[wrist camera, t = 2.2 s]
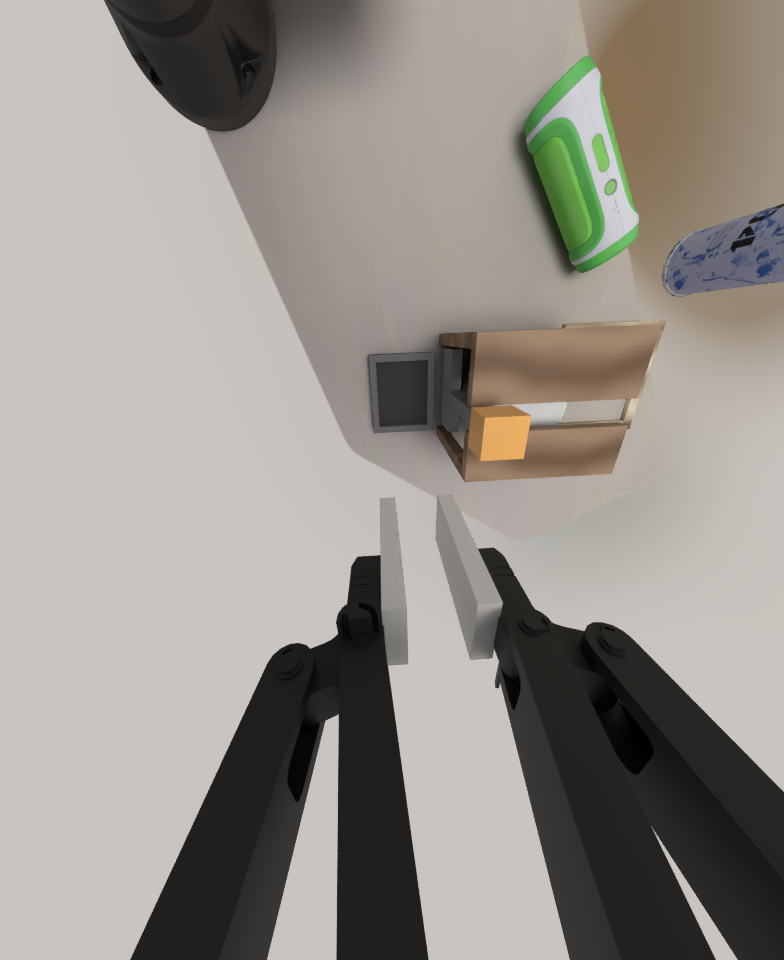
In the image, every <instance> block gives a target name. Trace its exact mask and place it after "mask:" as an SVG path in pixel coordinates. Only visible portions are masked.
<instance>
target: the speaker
mask: <svg viewBox="0 0 784 960" xmlns="http://www.w3.org/2000/svg"><path fill="white" fill-rule="evenodd" d="M524 127H525V136H526V142H527V148H528V151H529V152H530V153H531V154H532V155H533V156H534V163H535V165H536V168H537V171H538V173H539V176H540V178H541V181H542V184H543V186H544V189H545V192H546V194H547V197H548V200H549V202H550V205H551V208H552V210H553V213H554V216H555V218H556V221H557V224H558V226H559V229H560V232H561V234H562V237H563V240H564V243H565V245H566V248H567V250H568V251H569V260H570V261H571V263H572V264H573V266H574V267H575V268H576V269H577V270H578V272H580V273H583V272H587V271H589V270H591V269H593V268H595V267H597V266H599V265H601V264H603V263H604V262H606V261H608V260H609V259H611V258H612V257H614V256H615V255H617V254H618V253H620V252H621V251H623V250H624V249H625V248H627V247H628V246H629V245H630V244H631V243H632V242H633V241H634V240H635V239H636V237H637V236H638V226H639V221H638V220H639V218H638V211H637V210H636V209H635V208H634V206H633V199H632V195H631V192H630V188H629V184H628V181H627V177H626V173H625V170H624V166H623V163H622V159H621V155H620V152H619V148H618V145H617V141H616V137H615V133H614V130H613V126H612V123H611V119H610V115H609V112H608V108H607V104H606V101H605V97H604V94H603V93H602V77H601V75H600V72H599V71H598V68H597V67H596V65H595V64H594V62H593V61H592V59H591V58H590V57H589V56H585V57H584V58H582V59H581V60H580V61H579V62H577V63H576V64H575V65H574V66H573V67H572V68H571V69H570V70H569V71H568V72H567V73H566V74H565V75H564V76H563V77H562V78H561V79H560V80H559V81H558V82H557V83H556V84H555V85H554V86H553V87H552V88H551V90H550V91H549V92H548V93H547V94H546V95H545V96H544V97H543V99H542V100H541V101H540V102H539V103H538V105H537V106H536V107H535V108H534V110H533V111H532V112H531V113H530V115H529V116H528V118H527V119H526V121H525V124H524Z"/></svg>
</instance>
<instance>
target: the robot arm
mask: <svg viewBox="0 0 784 960" xmlns="http://www.w3.org/2000/svg"><path fill="white" fill-rule="evenodd" d="M104 1H105V3H106V5H107V7H108V9H109V11H110V13H111V15H112V17H113V19H114V21H115V24H116V25H117V28H118V30H119V31H120V34H121V36H122V38H123V40H124V42H125V44H126V46H127V48H128V50H129V51H130V53H131V55H132V57H133V58H134V60H135V61H136V63H137V64H138V66H139V67H140V69H141V70H142V72H143V73H144V75H145V76H146V77H147V79H148V80H149V81H150V82H151V83H152V85H153V86H154V87H155V88H156V89H157V90H158V91H159V93H160V94H161V95H162V96H163V97H164V98H165V99H166V100H167V101H168V102H169V104H170V105H171V106H172V107H173V108H175V109H176V110H177V111H178V112H179V113H181V114H182V115H183V116H184V117H186V118H187V119H189V120H191V121H192V122H194V123H196V124H198V125H200V126H202V127H205V128H208V129H213V130H231V129H235V128H238V127H240V126H242V125H244V124H246V123H247V122H249V121H250V120H251V119H252V118H253V117H254V116H255V115H256V114H257V113H258V112H259V110H260V109H261V107H262V106H263V104H264V102H265V100H266V98H267V96H268V94H269V91H270V88H271V85H272V81H273V77H274V71H275V64H276V32H275V24H274V17H273V12H272V7H271V3H270V0H104ZM380 541H381V542H380V543H381V555H379V556H362V557H357V558H356V560H355V561H354V563H353V565H352V567H351V575H350V584H349V586H350V587H349V593H348V601H347V605H345V606H344V607H343V608H342V609H341V611H340V612H339V613H338V616H337V621H336V624H337V629H338V635H337V636H336V637H334V638H333V639H332V640H330V641H328V642H326V643H324V644H321V645H319V646H316V647H314V648H311V649H310V648H309V647H308V646H306V645H304V644H300V643H295V644H289V645H287V646H285V647H283V648H281V649H280V650H279V651H277V652H276V653H275V654H274V655H273V656H272V657H271V659H270V660H269V662H268V664H267V665H266V668H265V670H264V672H263V674H262V677H261V678H260V681H259V683H258V685H257V687H256V689H255V691H254V693H253V696H252V698H251V700H250V702H249V705H248V706H247V709H246V711H245V713H244V715H243V717H242V720H241V722H240V724H239V726H238V728H237V730H236V732H235V735H234V737H233V739H232V741H231V743H230V745H229V747H228V750H227V752H226V754H225V756H224V758H223V760H222V763H221V765H220V767H219V769H218V771H217V773H216V776H215V778H214V780H213V782H212V784H211V786H210V789H209V791H208V793H207V795H206V797H205V799H204V801H203V804H202V806H201V808H200V810H199V812H198V815H197V817H196V819H195V821H194V823H193V825H192V827H191V830H190V832H189V834H188V836H187V838H186V840H185V843H184V845H183V847H182V849H181V851H180V854H179V856H178V858H177V860H176V862H175V864H174V866H173V868H172V871H171V873H170V875H169V877H168V879H167V881H166V884H165V886H164V888H163V890H162V892H161V894H160V897H159V899H158V901H157V903H156V905H155V908H154V910H153V912H152V914H151V916H150V918H149V920H148V922H147V925H146V927H145V929H144V931H143V933H142V936H141V938H140V940H139V942H138V944H137V946H136V949H135V951H134V953H133V955H132V957H131V959H130V960H267V957H268V953H269V949H270V944H271V941H272V937H273V932H274V928H275V924H276V920H277V916H278V912H279V908H280V904H281V900H282V896H283V892H284V888H285V883H286V879H287V875H288V871H289V867H290V863H291V859H292V855H293V851H294V847H295V843H296V838H297V834H298V830H299V826H300V822H301V818H302V814H303V810H304V806H305V802H306V797H307V793H308V789H309V785H310V781H311V777H312V773H313V769H314V765H315V761H316V757H317V752H318V748H319V744H320V740H321V736H322V732H323V728H324V724H325V721H326V720H328V719H330V718H332V717H334V716H336V715H338V714H339V756H338V758H339V761H338V764H339V765H338V861H337V864H338V866H337V869H338V870H337V873H338V874H337V960H428V953H427V945H426V939H425V932H424V924H423V916H422V909H421V902H420V895H419V888H418V881H417V873H416V866H415V859H414V852H413V845H412V838H411V830H410V822H409V815H408V808H407V801H406V793H405V786H404V779H403V772H402V765H401V758H400V751H399V743H398V736H397V729H396V721H395V714H394V707H393V700H392V692H391V686H390V678H389V671H388V665H402V664H408V642H407V606H406V597H405V587H404V578H403V568H402V559H401V550H400V540H399V531H398V522H397V512H396V503H395V498H380ZM436 542H437V545H438V549H439V552H440V556H441V559H442V563H443V566H444V569H445V573H446V577H447V580H448V584H449V587H450V591H451V594H452V598H453V601H454V604H455V608H456V611H457V615H458V619H459V622H460V626H461V629H462V633H463V636H464V640H465V643H466V647H467V650H468V653H469V657H470V659H471V660H474V659H489V658H492V656H493V651H494V649H495V652H496V654H497V657H498V660H499V664H498V669H497V674H496V679H495V687H496V688H499V685H500V683H501V687H502V691H503V695H504V699H505V703H506V707H507V711H508V715H509V719H510V723H511V727H512V731H513V735H514V739H515V743H516V747H517V751H518V755H519V759H520V763H521V767H522V770H523V775H524V778H525V782H526V787H527V791H528V795H529V799H530V802H531V806H532V811H533V814H534V818H535V822H536V826H537V830H538V834H539V838H540V842H541V846H542V850H543V854H544V858H545V862H546V866H547V870H548V874H549V878H550V882H551V886H552V890H553V894H554V898H555V902H556V906H557V910H558V914H559V918H560V922H561V926H562V930H563V934H564V938H565V942H566V946H567V950H568V954H569V958H570V960H716V959H715V957H714V955H713V953H712V951H711V949H710V947H709V945H708V943H707V941H706V939H705V937H704V934H703V933H702V931H701V928H700V926H699V924H698V922H697V920H696V918H695V916H694V914H693V912H692V910H691V908H690V906H689V904H688V902H687V899H686V897H685V895H684V893H683V891H682V889H681V887H680V885H679V883H678V881H677V879H676V877H675V875H674V872H673V870H672V868H671V866H670V864H669V862H668V860H667V858H666V856H665V854H664V852H663V850H662V848H661V846H660V844H659V842H658V840H657V838H656V835H655V833H654V831H655V832H656V834H657V835H658V837H659V839H660V840H661V841H662V843H663V845H664V846H665V848H666V849H667V851H668V852H669V854H670V856H671V857H672V859H673V860H674V862H675V863H676V865H677V866H678V868H679V869H680V871H681V872H682V874H683V876H684V877H685V879H686V880H687V882H688V883H689V885H690V886H691V888H692V890H693V891H694V893H695V894H696V896H697V897H698V899H699V900H700V902H701V903H702V905H703V906H704V908H705V910H706V911H707V913H708V914H709V916H710V917H711V919H712V920H713V922H714V923H715V925H716V927H717V928H718V930H719V931H720V932H721V934H722V936H723V937H724V939H725V940H726V942H727V944H728V945H729V947H730V948H731V950H732V951H733V953H734V954H735V956H736V957H737V959H738V960H784V792H783V791H782V790H781V789H780V788H779V787H778V786H777V785H776V784H775V783H774V782H773V781H772V780H771V779H770V778H769V777H768V776H767V775H766V774H765V773H764V772H763V771H762V770H761V769H760V768H759V767H758V766H757V764H755V763H754V761H752V760H751V758H750V757H749V756H748V755H747V754H746V753H745V752H744V751H742V749H741V748H740V747H739V746H738V745H737V744H736V743H735V742H734V741H733V740H732V739H731V738H730V737H729V736H728V735H727V734H726V733H725V732H724V731H723V730H722V729H721V728H720V727H719V726H718V725H717V724H716V723H715V722H714V721H713V720H712V719H711V718H710V717H709V716H708V715H707V714H706V713H705V712H704V711H703V710H702V709H701V708H700V707H699V706H698V705H697V704H696V703H695V702H694V701H693V700H692V699H691V698H690V697H689V696H688V695H687V694H686V693H685V692H684V691H683V690H682V688H680V687H679V685H678V684H677V683H676V682H675V681H674V680H673V679H672V678H671V677H670V676H669V675H668V674H667V673H666V672H665V671H664V670H663V669H662V668H661V667H660V666H659V665H658V664H657V663H656V662H655V661H654V660H653V659H652V658H651V657H650V656H649V655H648V654H647V653H646V652H645V651H644V650H643V649H642V648H641V647H640V646H639V645H638V644H637V643H636V642H635V641H634V640H633V639H632V638H631V637H630V636H629V635H627V634H626V633H625V632H623V631H622V630H620V629H618V628H617V627H615V626H613V625H609V624H606V623H602V622H601V623H600V622H593V623H591V624H589V625H587V627H586V629H585V631H581V630H576V629H572V628H567V627H563V626H560V625H556V624H554V623H552V622H551V621H550V620H549V618H548V617H546V616H545V615H544V614H543V613H541V612H539V611H537V610H535V609H534V607H533V606H532V605H531V602H530V601H529V599H528V597H527V595H526V594H525V592H524V590H523V588H522V587H521V585H520V583H519V581H518V580H517V578H516V576H514V573H513V571H512V569H511V568H510V567H509V564H508V562H507V561H506V559H505V557H504V556H503V555H502V554H501V553H500V552H499V551H497V550H496V549H495V548H483V549H478V548H477V546H476V544H475V542H474V540H473V538H472V536H471V533H470V531H469V529H468V527H467V525H466V523H465V521H464V519H463V517H462V514H461V512H460V510H459V508H458V506H457V504H456V501H455V499H454V497H453V495H452V494H450V495H437V516H436ZM651 826H652V827H651ZM652 828H653V829H654V831H653V829H652Z"/></svg>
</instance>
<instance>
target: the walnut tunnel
mask: <svg viewBox="0 0 784 960" xmlns="http://www.w3.org/2000/svg"><path fill="white" fill-rule="evenodd" d="M661 327H662V324H657V325H633V326H609V327H585V328H561V329H538V330H515V331H492V332H469V333H446V334H440V342H439V345H446V346H453V347H460V348H468V349H471V361H470V373H469V386H468V399H467V404H468V405H470V406H492V405H512V404H532V403H553V402H573V401H593V400H614V399H634V398H638V395H639V392H640V389H641V386H642V383H643V380H644V377H645V374H646V371H647V368H648V365H649V362H650V359H651V356H652V354H653V351H654V348H655V345H656V342H657V339H658V336H659V333H660V330H661ZM627 427H628V425H625V424H622V423H619V422H609V423H590V424H570V425H550V426H531V427H529V432H528V438H527V443H526V449H525V454H524V459H512V460H493V461H480V460H479V459H478V458H477V457H476V455H475V454H474V453H473V452H472V450H471V449H470V448H469V447H468V440H469V430H465V437H464V450H463V449H462V448H461V446H460V445H459V444H458V442H457V441H456V440H455V438H454V437H453V436H452V434H451V433H450V432H448V431H447V430H446V428H445V427H444V426H437V436H438V438H439V440H440V441H441V443H442V445H443V446H444V448H445V450H446V451H447V453H448V455H449V456H450V458H451V460H452V462H453V463H454V465H455V467H456V468H457V470H458V472H459V473H460V475H461V477H462V478H463V480H464V482H473V481H491V480H509V479H527V478H546V477H564V476H582V475H600V474H612V471H613V468H614V465H615V462H616V459H617V457H618V454H619V451H620V448H621V445H622V442H623V439H624V436H625V433H626V430H627Z"/></svg>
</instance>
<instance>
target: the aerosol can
mask: <svg viewBox="0 0 784 960" xmlns="http://www.w3.org/2000/svg"><path fill="white" fill-rule="evenodd" d="M662 281H663V286H664V288H665V289H666V291H667V292H668V293H669V294H671V295H673V296H680V297H681V296H686V295H690V294H693V293H700V292H708V291H715V290H722V289H730V288H737V287H745V286H752V285H760V284H767V283H774V282H782V281H784V204H782V205H779V206H776V207H772V208H769V209H766V210H763V211H760V212H757V213H754V214H751V215H748V216H745V217H742V218H739V219H736V220H733V221H730V222H726V223H723V224H721V225H717V226H714V227H711V228H708V229H706V228H705V229H701V230H698V231H694V232H692V233H690V234H688V235H687V236H685V237H684V238H682V239H681V240H680V241H679V242H678V243H677V244H676V245H675V246H674V248H673V250H672V251H671V252H670V254H669V256H668V257H667V260H666V262H665V265H664V267H663V274H662Z"/></svg>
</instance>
